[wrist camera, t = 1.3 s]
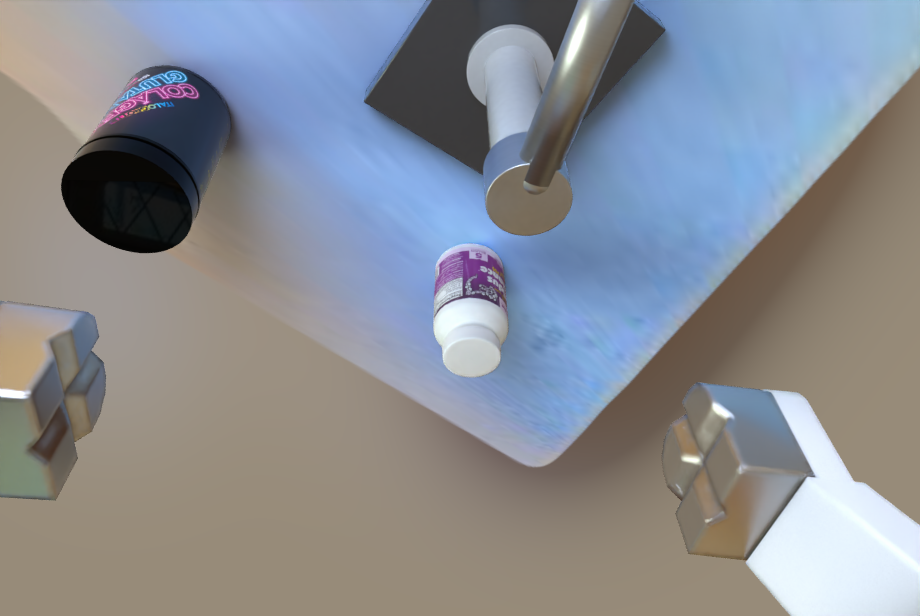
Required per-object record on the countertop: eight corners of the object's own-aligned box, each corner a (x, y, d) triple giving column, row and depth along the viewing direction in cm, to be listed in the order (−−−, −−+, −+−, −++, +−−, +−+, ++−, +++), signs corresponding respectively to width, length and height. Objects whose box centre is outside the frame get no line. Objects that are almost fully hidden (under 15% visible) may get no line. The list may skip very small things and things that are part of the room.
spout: (546, 198, 37) (554, 246, 34) (472, 180, 36) (474, 229, 34) (711, -181, 26) (744, -157, 23) (609, -217, 25) (630, -197, 22)
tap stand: (501, -113, 38) (518, -33, 29) (660, 19, 42) (717, 123, 34) (365, 91, 45) (345, 203, 36) (513, 183, 50) (527, 301, 41)
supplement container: (235, 72, 44) (191, 163, 37) (234, 164, 49) (194, 262, 41) (120, 49, 43) (50, 138, 36) (130, 145, 48) (70, 242, 40)
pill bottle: (518, 265, 55) (528, 357, 48) (471, 302, 58) (474, 395, 51) (466, 228, 53) (469, 319, 46) (420, 269, 55) (416, 361, 48)
